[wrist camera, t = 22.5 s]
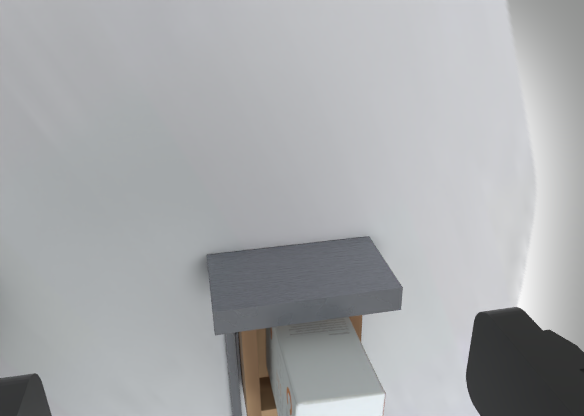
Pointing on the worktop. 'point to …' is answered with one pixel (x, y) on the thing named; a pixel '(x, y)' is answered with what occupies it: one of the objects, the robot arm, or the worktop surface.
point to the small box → (322, 370)
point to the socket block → (263, 370)
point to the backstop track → (296, 289)
